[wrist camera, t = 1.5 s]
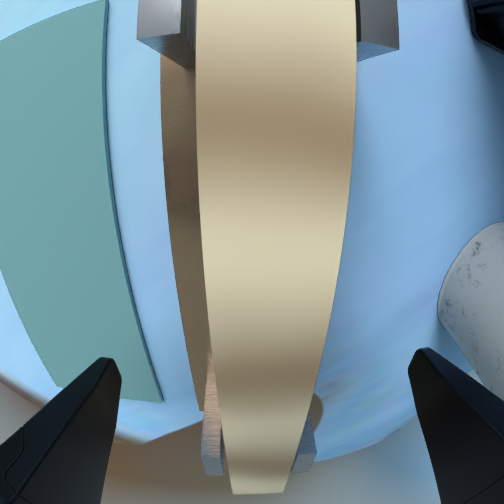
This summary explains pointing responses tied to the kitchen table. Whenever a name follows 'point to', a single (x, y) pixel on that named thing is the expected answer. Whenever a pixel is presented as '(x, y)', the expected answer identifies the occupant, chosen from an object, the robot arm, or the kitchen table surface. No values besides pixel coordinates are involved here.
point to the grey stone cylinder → (478, 305)
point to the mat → (65, 203)
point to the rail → (271, 212)
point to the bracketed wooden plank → (187, 190)
